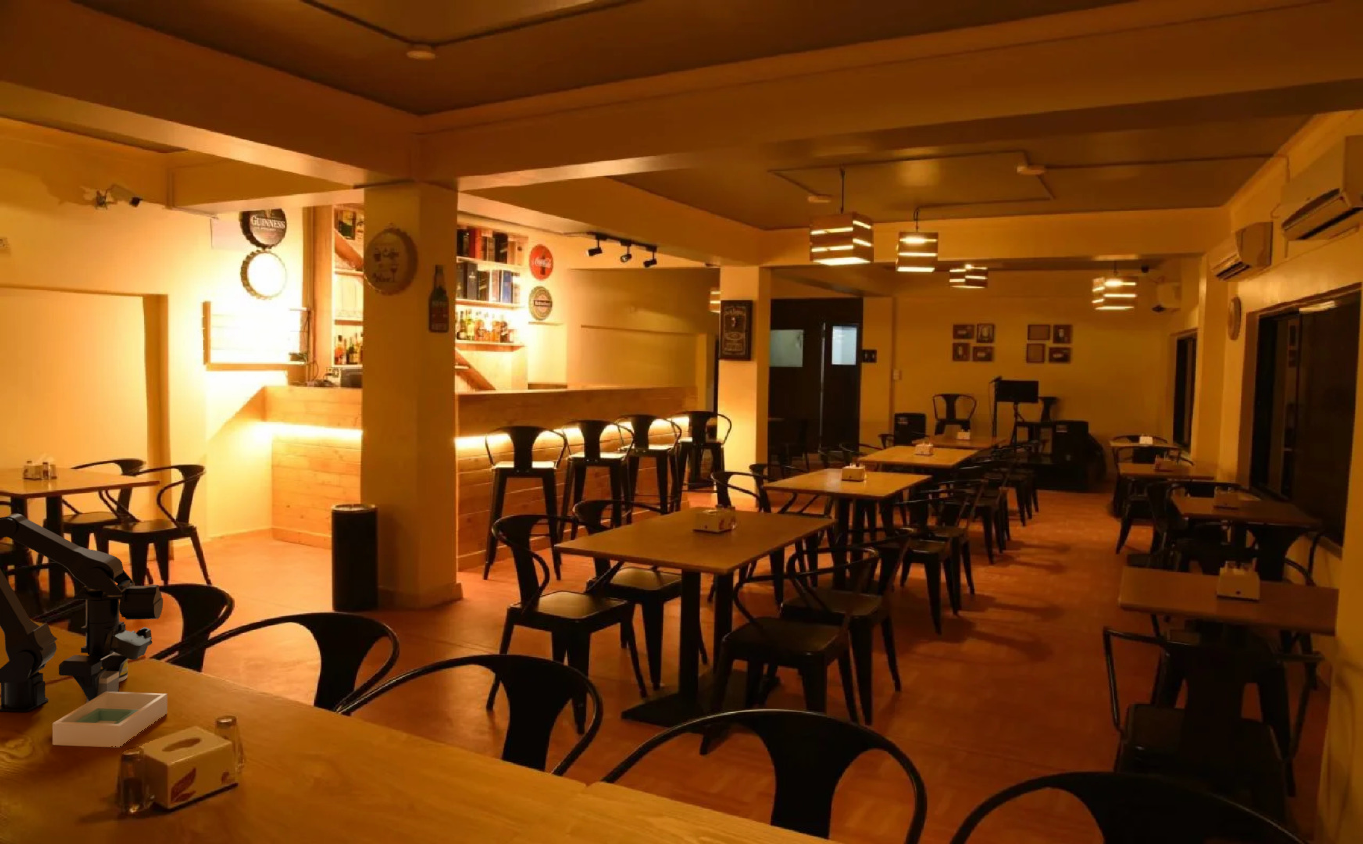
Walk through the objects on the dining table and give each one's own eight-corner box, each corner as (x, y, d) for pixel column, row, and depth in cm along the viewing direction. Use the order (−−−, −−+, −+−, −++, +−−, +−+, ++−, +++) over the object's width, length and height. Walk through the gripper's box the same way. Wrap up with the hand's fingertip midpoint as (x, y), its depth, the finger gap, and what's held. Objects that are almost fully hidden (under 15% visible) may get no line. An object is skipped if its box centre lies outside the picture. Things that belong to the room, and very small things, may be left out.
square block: (86, 706, 186) (86, 677, 185) (98, 699, 190) (98, 670, 190) (106, 707, 186) (106, 678, 186) (118, 700, 190) (119, 671, 190)
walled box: (52, 745, 168) (52, 723, 168) (105, 711, 184) (105, 691, 184) (119, 747, 168) (119, 725, 168) (167, 713, 184) (167, 693, 184)
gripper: (116, 635, 178) (115, 715, 179) (168, 608, 196) (167, 681, 197) (56, 633, 177) (57, 713, 179) (114, 606, 196) (114, 679, 197)
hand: (102, 695), depth 188 cm, fingers open, 6 cm apart
